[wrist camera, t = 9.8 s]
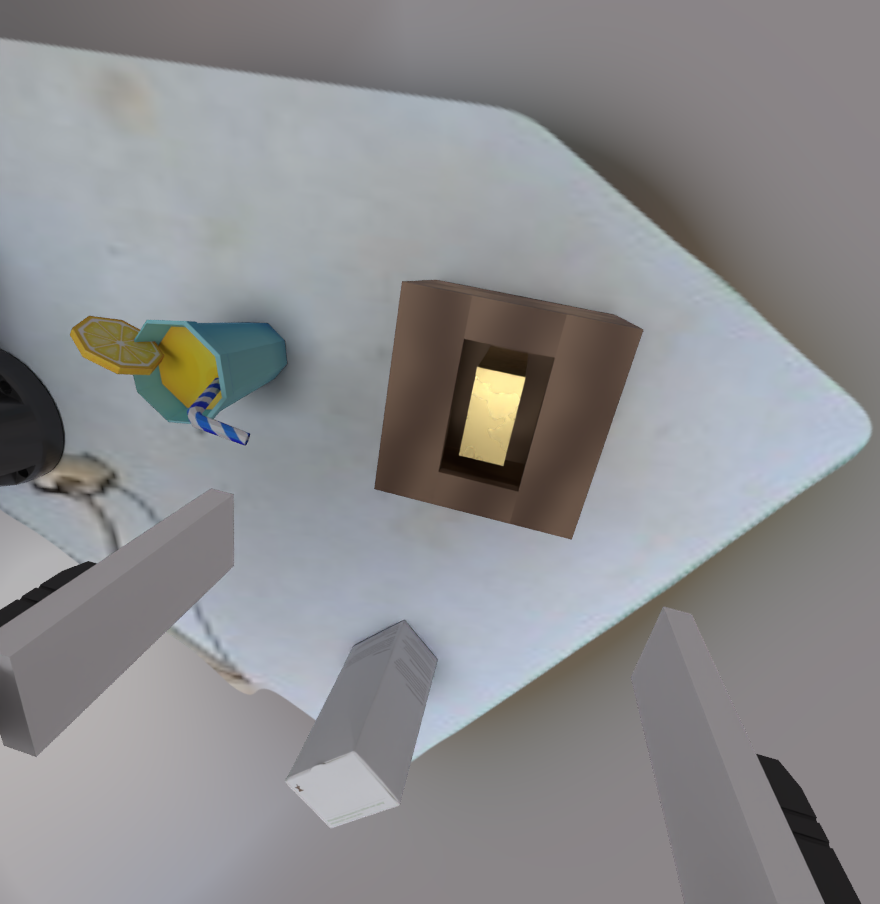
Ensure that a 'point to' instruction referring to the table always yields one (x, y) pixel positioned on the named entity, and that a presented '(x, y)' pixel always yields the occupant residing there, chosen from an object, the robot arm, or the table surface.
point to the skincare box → (366, 729)
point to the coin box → (539, 411)
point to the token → (494, 405)
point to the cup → (187, 364)
